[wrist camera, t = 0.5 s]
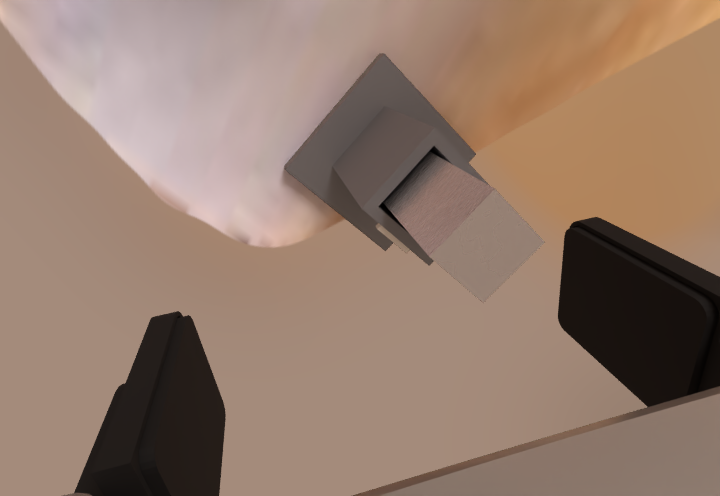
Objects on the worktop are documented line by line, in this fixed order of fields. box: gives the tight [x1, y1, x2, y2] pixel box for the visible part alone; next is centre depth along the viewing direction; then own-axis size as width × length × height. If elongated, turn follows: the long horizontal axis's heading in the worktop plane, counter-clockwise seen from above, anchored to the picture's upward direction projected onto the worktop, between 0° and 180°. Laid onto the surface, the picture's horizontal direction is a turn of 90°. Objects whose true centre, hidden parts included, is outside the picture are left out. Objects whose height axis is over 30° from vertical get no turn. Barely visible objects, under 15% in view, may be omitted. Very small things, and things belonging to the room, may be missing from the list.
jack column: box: [383, 151, 545, 302], centre depth 31 cm, size 5×5×20 cm
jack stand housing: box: [285, 54, 490, 265], centre depth 36 cm, size 13×13×14 cm
